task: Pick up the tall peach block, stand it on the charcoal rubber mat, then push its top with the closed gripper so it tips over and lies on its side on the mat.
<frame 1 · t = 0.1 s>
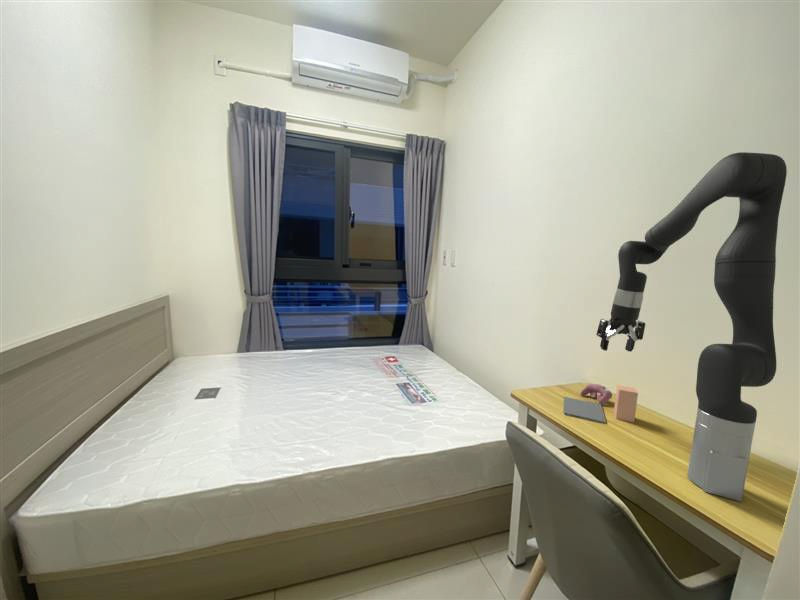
hand: (616, 350, 107), 22 cm above the table, tool pointing down, fingers open, 8 cm apart
peach block: (623, 417, 107), on the table
video game controller: (595, 400, 122), on the table
charcoal mat: (582, 409, 112), on the table
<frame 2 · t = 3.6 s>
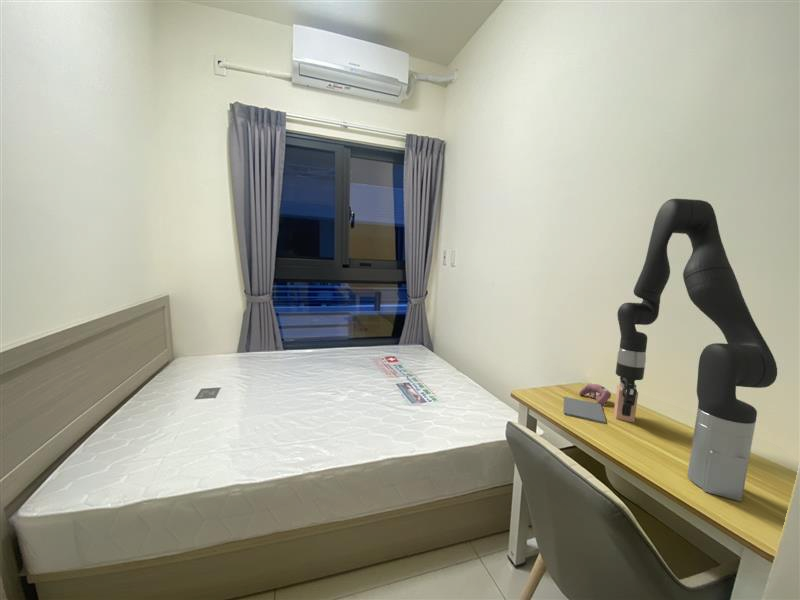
hand: (624, 411, 107), 2 cm above the table, tool pointing down, fingers closed on peach block, 5 cm apart
peach block: (623, 417, 107), on the table, touching gripper
everything else where it was.
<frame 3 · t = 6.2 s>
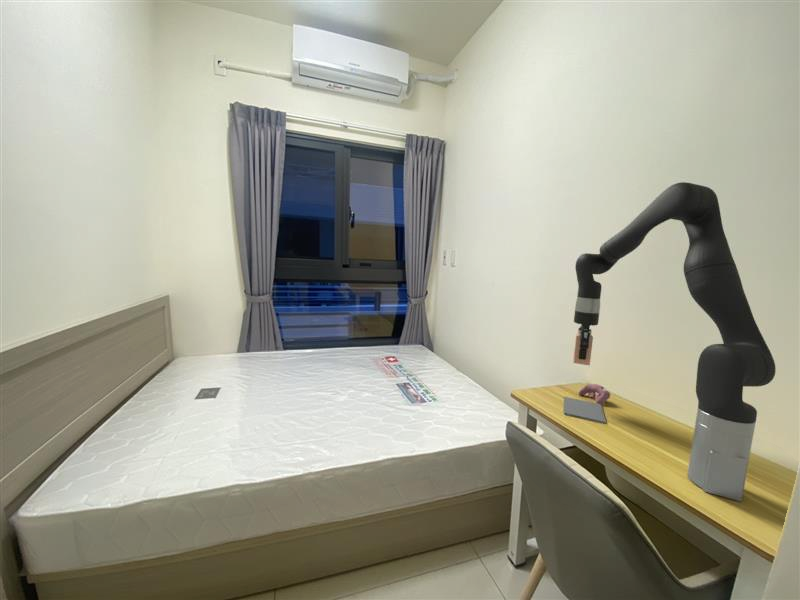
hand: (581, 357, 115), 18 cm above the table, tool pointing down, fingers closed on peach block, 5 cm apart
peach block: (581, 362, 115), point 16 cm above the table, touching gripper
everything else where it was.
when the fingers open (4 cm above the table, at t = 9.2 s): peach block drops 1 cm, resting on charcoal mat.
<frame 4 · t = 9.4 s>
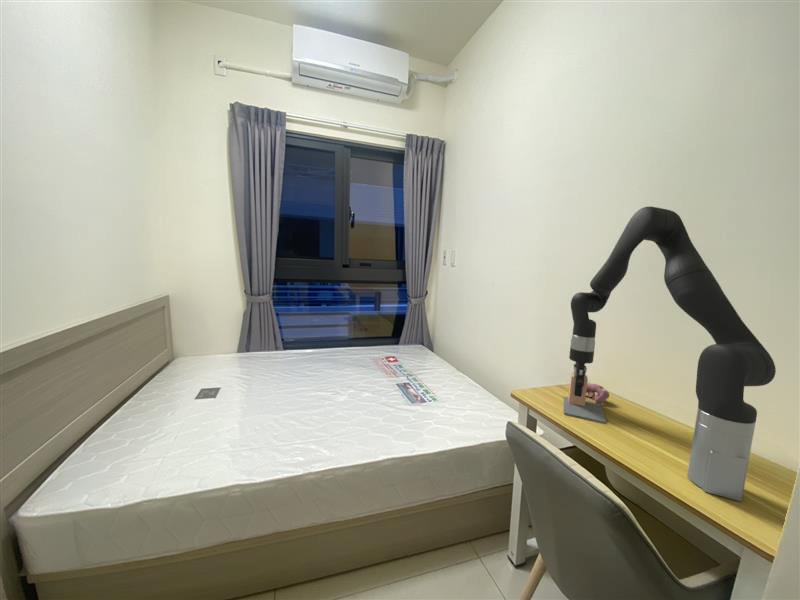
hand: (577, 392, 116), 4 cm above the table, tool pointing down, fingers open, 6 cm apart
peach block: (576, 402, 117), point 1 cm above the table, touching charcoal mat
everything else where it was.
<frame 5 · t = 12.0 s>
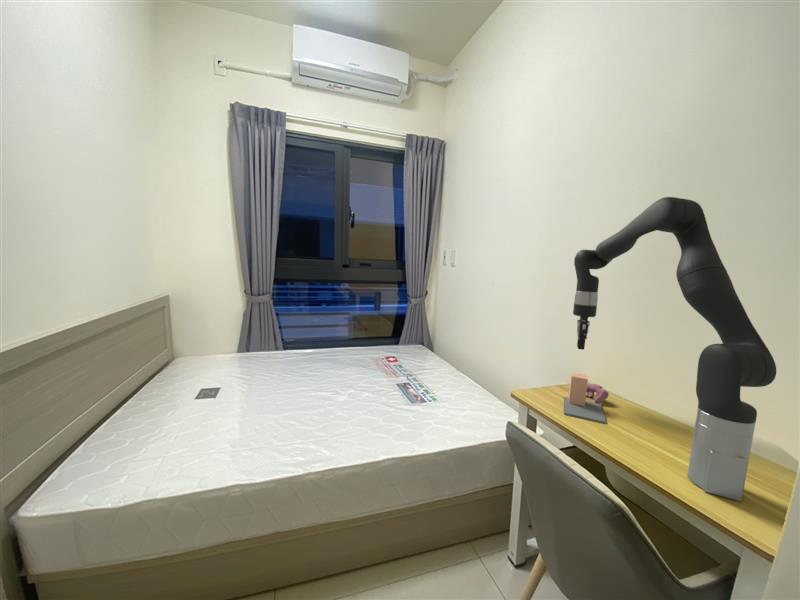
hand: (580, 347, 122), 19 cm above the table, tool pointing down, fingers open, 3 cm apart
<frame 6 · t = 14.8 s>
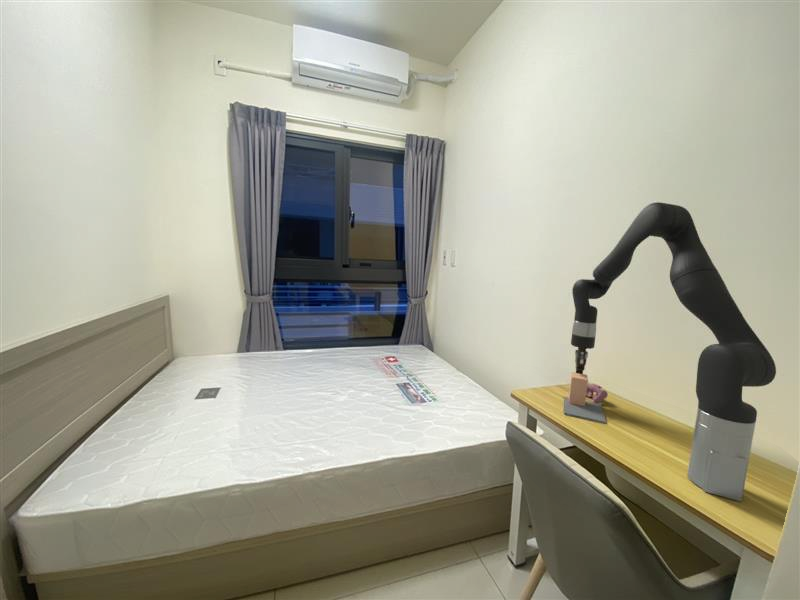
hand: (578, 379, 119), 8 cm above the table, tool pointing down, fingers closed
peach block: (576, 401, 117), point 1 cm above the table, touching charcoal mat, gripper
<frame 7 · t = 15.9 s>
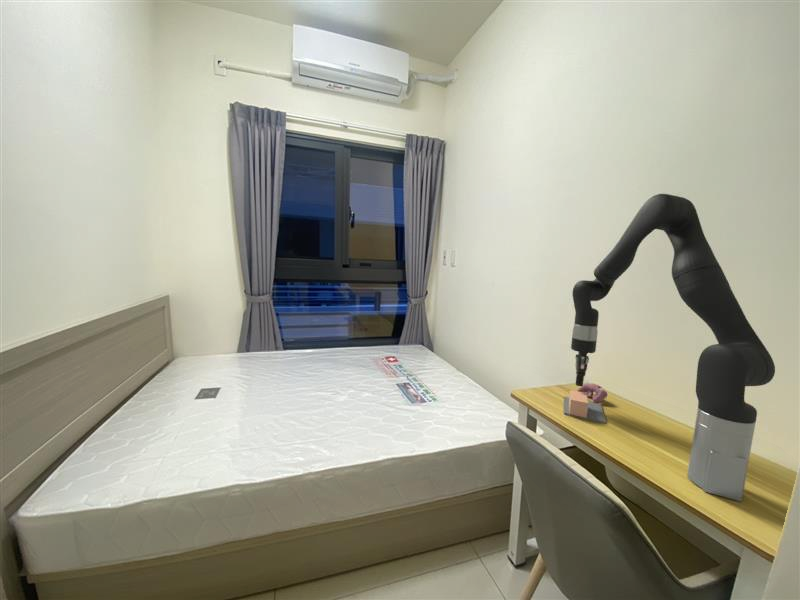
hand: (579, 385, 114), 8 cm above the table, tool pointing down, fingers closed
peach block: (577, 398, 114), point 3 cm above the table, tilted 90°, touching charcoal mat
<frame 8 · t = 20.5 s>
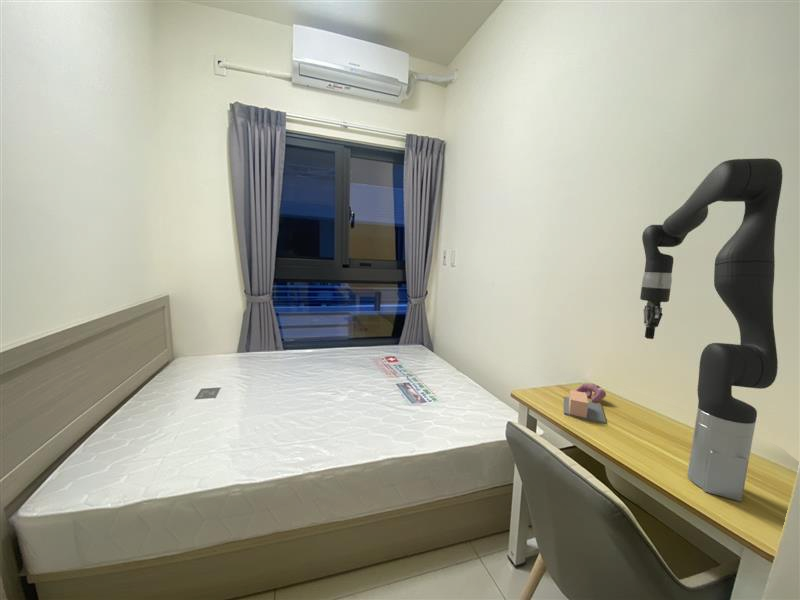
hand: (649, 338, 107), 27 cm above the table, tool pointing down, fingers closed
at the end: peach block tilted 90°; peach block inside the target area on the charcoal mat (0.4 cm from its centre), point 3.1 cm above the charcoal mat's base; peach block touching charcoal mat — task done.
